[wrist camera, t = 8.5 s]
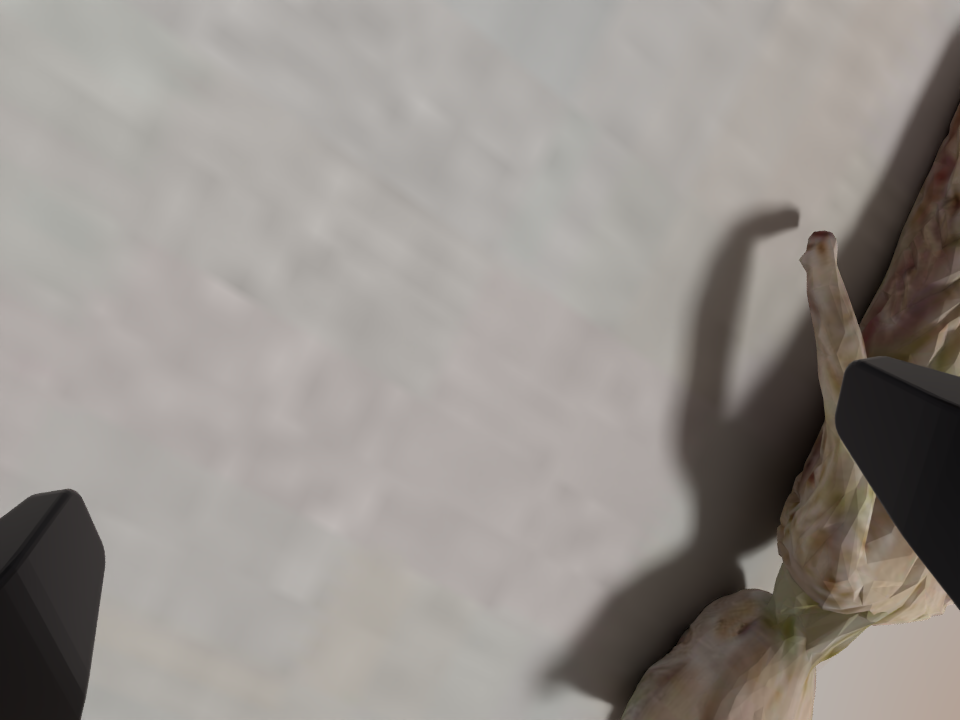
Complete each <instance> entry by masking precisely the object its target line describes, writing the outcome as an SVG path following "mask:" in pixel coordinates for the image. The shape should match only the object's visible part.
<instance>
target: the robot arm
mask: <svg viewBox="0 0 960 720" xmlns="http://www.w3.org/2000/svg"><path fill="white" fill-rule="evenodd" d="M835 426H836V430H837V433H838V435H839V437H840V439H841V440H842V442H843V444H844V445H845V447H846V448H847V450H848V452H849V453H850V455H851V456H852V458H853V459H854V461H855V463H856V464H857V466H858V467H859V469H860V471H861V472H862V474H863V475H864V477H865V479H866V480H867V482H868V483H869V485H870V486H871V488H872V490H873V491H874V493H875V494H876V496H877V498H878V499H879V501H880V502H881V504H882V505H883V507H884V509H885V510H886V512H887V513H888V515H889V517H890V518H891V520H892V521H893V523H894V524H895V526H896V527H897V529H898V530H899V532H900V533H901V535H902V536H903V537H904V539H905V540H906V541H907V543H908V544H909V546H910V547H911V548H912V550H913V551H914V552H915V554H916V555H917V556H918V557H919V559H920V560H921V561H922V563H923V564H924V565H925V566H926V568H927V569H928V570H929V572H930V573H931V574H932V575H933V577H934V578H935V579H936V581H937V582H938V583H939V584H940V586H941V587H942V588H943V590H944V591H945V592H946V593H947V595H948V596H949V597H950V599H951V600H952V601H953V602H954V604H955V605H956V606H957V607H958V609H959V610H960V377H959V376H956V375H952V374H948V373H945V372H941V371H938V370H934V369H931V368H927V367H923V366H920V365H916V364H913V363H909V362H906V361H902V360H898V359H895V358H891V357H887V356H877V357H871V358H865V359H859V360H854V361H853V362H851V363H850V364H849V365H848V366H847V368H846V369H845V372H844V376H843V380H842V385H841V389H840V394H839V398H838V403H837V407H836V412H835ZM104 571H105V552H104V547H103V544H102V541H101V539H100V537H99V535H98V532H97V530H96V528H95V526H94V523H93V521H92V519H91V517H90V514H89V512H88V510H87V508H86V506H85V503H84V501H83V499H82V497H81V496H80V495H79V494H78V493H77V492H76V491H74V490H72V489H63V490H57V491H51V492H45V493H39V494H34V495H32V496H30V497H28V498H27V499H25V500H24V501H23V502H22V503H20V504H19V505H18V506H16V507H15V508H14V509H12V510H11V511H10V512H8V513H7V514H6V515H4V516H3V517H2V518H0V720H81V716H82V712H83V707H84V703H85V699H86V693H87V688H88V682H89V676H90V669H91V662H92V655H93V648H94V641H95V634H96V627H97V620H98V613H99V606H100V599H101V592H102V585H103V578H104Z"/></svg>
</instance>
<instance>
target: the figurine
mask: <svg viewBox="0 0 960 720" xmlns="http://www.w3.org/2000/svg"><path fill="white" fill-rule="evenodd" d="M837 250H838V247H837V240H836V238H835V236H834V235H833V233H831V232H827V231H818V232H814V233H813V234H812V235H811V236H810V237H809V239H808V244H807V250H806V252H805V253H804V255H803V256H802V257H801V258H800V259H799V260H800V262H801V264H802V265H803V267H804V269H805V271H806V272H807V297H808V302H809V307H810V312H811V318H812V323H813V328H814V333H815V340H816V348H817V363H818V378H819V382H820V386H821V391H822V395H823V400H824V410H825V421H824V423H823V425H822V428H821V430H820V432H819V435H818V437H817V439H816V441H815V444H814V446H813V448H812V450H811V453H810V454H809V456H808V458H807V460H806V462H805V464H804V469H803V471H802V472H801V473H800V474H799V475H798V476H797V477H796V479H795V482H794V485H793V489H792V492H791V494H790V495H789V496H788V498H787V500H786V502H785V505H784V508H783V511H782V513H781V516H780V522H781V524H780V525H779V526H778V528H777V541H778V543H777V546H778V553H779V555H780V556H781V557H782V559H783V563H782V565H781V568H780V570H779V573H778V576H777V578H776V582H775V586H774V591H773V594H771V593H769V592H767V591H763V590H760V589H743V590H741V591H738V592H736V593H734V594H731V595H727V596H724V597H721V598H719V599H717V600H715V601H713V602H712V603H711V604H709V605H708V606H707V607H705V608H704V610H703V611H702V613H701V614H700V615H699V616H698V617H697V618H696V619H695V621H694V622H693V623H692V624H690V628H689V629H687V630H686V631H685V632H684V633H683V634H682V636H681V637H680V639H679V641H678V643H677V646H675V647H673V650H672V651H671V652H670V653H669V654H666V655H665V657H663V658H662V659H660V660H659V661H657V662H656V663H655V664H653V665H652V666H651V667H650V668H649V669H648V670H647V671H646V673H645V674H644V675H643V677H642V679H641V680H640V682H639V683H638V685H637V687H636V689H635V691H634V693H633V695H632V696H631V698H630V700H629V702H628V704H627V706H626V708H625V711H624V713H623V715H622V717H621V719H620V720H812V715H813V703H814V697H815V689H816V665H817V664H819V663H820V662H821V661H824V660H827V659H829V658H831V657H832V656H834V655H836V654H838V653H839V652H840V651H842V650H843V649H845V648H846V647H847V646H848V645H849V644H850V643H851V642H852V641H853V640H854V639H856V638H857V637H858V636H859V635H860V634H861V633H862V632H863V631H864V630H865V629H866V628H867V627H869V626H870V625H873V626H876V625H891V624H903V623H909V622H916V621H921V620H927V619H929V618H930V617H932V616H938V615H942V614H944V611H945V608H946V606H947V605H951V604H954V602H953V601H952V600H951V599H950V597H949V596H948V595H947V593H946V592H945V591H944V590H943V588H942V587H941V586H940V584H939V583H938V582H937V581H936V579H935V578H934V577H933V575H932V574H931V573H930V572H929V570H928V569H927V568H926V566H925V565H924V564H923V563H922V561H921V560H920V559H919V557H918V556H917V555H916V554H915V552H914V551H913V550H912V548H911V547H910V546H909V544H908V543H907V541H906V540H905V539H904V537H903V536H902V535H901V533H900V532H899V530H898V529H897V527H896V526H895V524H894V523H893V521H892V520H891V518H890V517H889V515H888V513H887V512H886V510H885V509H884V507H883V505H882V504H881V502H880V501H879V499H878V498H877V496H876V494H875V493H874V491H873V490H872V488H871V486H870V485H869V483H868V482H867V480H866V479H865V477H864V475H863V474H862V472H861V471H860V469H859V467H858V466H857V464H856V463H855V461H854V459H853V458H852V456H851V455H850V453H849V452H848V450H847V448H846V447H845V445H844V444H843V442H842V440H841V439H840V437H839V435H838V433H837V430H836V426H835V412H836V407H837V403H838V398H839V394H840V389H841V385H842V380H843V376H844V372H845V369H846V368H847V366H848V365H849V364H850V363H851V362H853V361H854V360H859V359H865V358H871V357H877V356H887V357H891V358H895V359H898V360H902V361H906V362H909V363H913V364H916V365H920V366H923V367H927V368H931V369H934V370H938V371H941V372H945V373H948V374H952V375H956V376H959V377H960V103H959V106H958V108H957V110H956V112H955V115H954V117H953V119H952V121H951V124H950V132H949V134H948V135H947V137H946V138H945V139H944V140H943V142H942V144H941V146H940V148H939V150H938V153H937V155H936V158H935V161H934V163H933V166H932V168H931V170H930V172H929V174H928V176H927V178H926V180H925V182H924V184H923V186H922V188H921V190H920V192H919V195H918V197H917V199H916V201H915V203H914V205H913V208H912V210H911V212H910V214H909V216H908V219H907V221H906V223H905V225H904V227H903V230H902V232H901V235H900V238H899V241H898V244H897V247H896V250H895V253H894V255H893V258H892V261H891V264H890V266H889V269H888V271H887V273H886V276H885V278H884V280H883V281H882V283H881V285H880V287H879V289H878V291H877V293H876V295H875V296H874V298H873V300H872V302H871V304H870V306H869V308H868V309H867V311H866V313H865V315H864V317H863V319H862V321H861V323H860V324H859V325H858V322H857V319H856V316H855V313H854V311H853V308H852V305H851V302H850V299H849V296H848V293H847V290H846V288H845V285H844V283H843V280H842V277H841V275H840V272H839V269H838V267H837Z"/></svg>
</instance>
